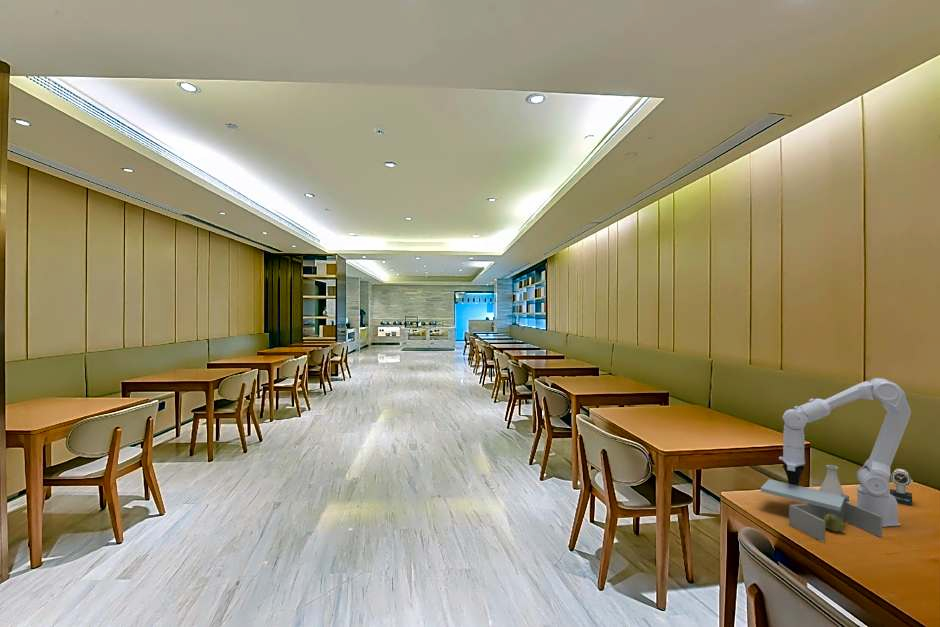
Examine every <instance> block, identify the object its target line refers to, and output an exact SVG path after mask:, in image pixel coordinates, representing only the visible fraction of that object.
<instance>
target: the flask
mask: <svg viewBox="0 0 940 627" xmlns="http://www.w3.org/2000/svg"><path fill="white" fill-rule="evenodd" d="M825 466H826V468H827V469H826V474H825V477H824V479H823V482H822V483H821V485H820V487H821V488H820V487H819V489H820V490H819V489H818V490H819V491H824V492H828V493H832V494H837V495H841V494H843V495H845V493H844V491H843V489H842V486H841V482H840V480H839V478H838V470H839V467H838V466H836V465H834V464H833V465H831V464H826V465H825Z"/></svg>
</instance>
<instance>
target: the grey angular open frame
mask: <svg viewBox="0 0 940 627" xmlns="http://www.w3.org/2000/svg"><path fill="white" fill-rule="evenodd" d="M788 505H789V506H788V507H789V508H788V510H789V511H788V525H789V526H791V527H793V528H795V529H797V530H798V531H800V530H801V531H800V532H802V531H803V533H804V532H805V533H804V534H807V535H808V536H810V537H812V538H813V539H815V538H817V539H819V540H821V541H825V542H826V526H825V521H824V520H823V519H824V516H825V515H827V514H835V515H837V516H838V517H839V518H841V519H842V520H843V521H846V522H845V523H847V522H848V524H849V523H851V524H853V525H852V526H854V525H855V526H854V527H856V526H857V527H856V528H858V527H859V529H860V528H861V529H860V530H862V529H863V530H862V531H864V532H867V533H869V534H871V535H874V536H876V537H878V538H883V527H882V516H879V515H877V514H875V513H872V512H870V511H867V510H865V509H863V508H860V507H858V506H857V505H855V504H854V503H850V502H847V501H844V504H843V506H842V509H841V511H837V510H833V509H829V508H824V507H820V506H816V505H812V504H808V503H799V504H797V503H796V504H788ZM851 524H850V525H851ZM817 539H816V540H817ZM819 540H818V541H819ZM821 541H820V542H821Z"/></svg>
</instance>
